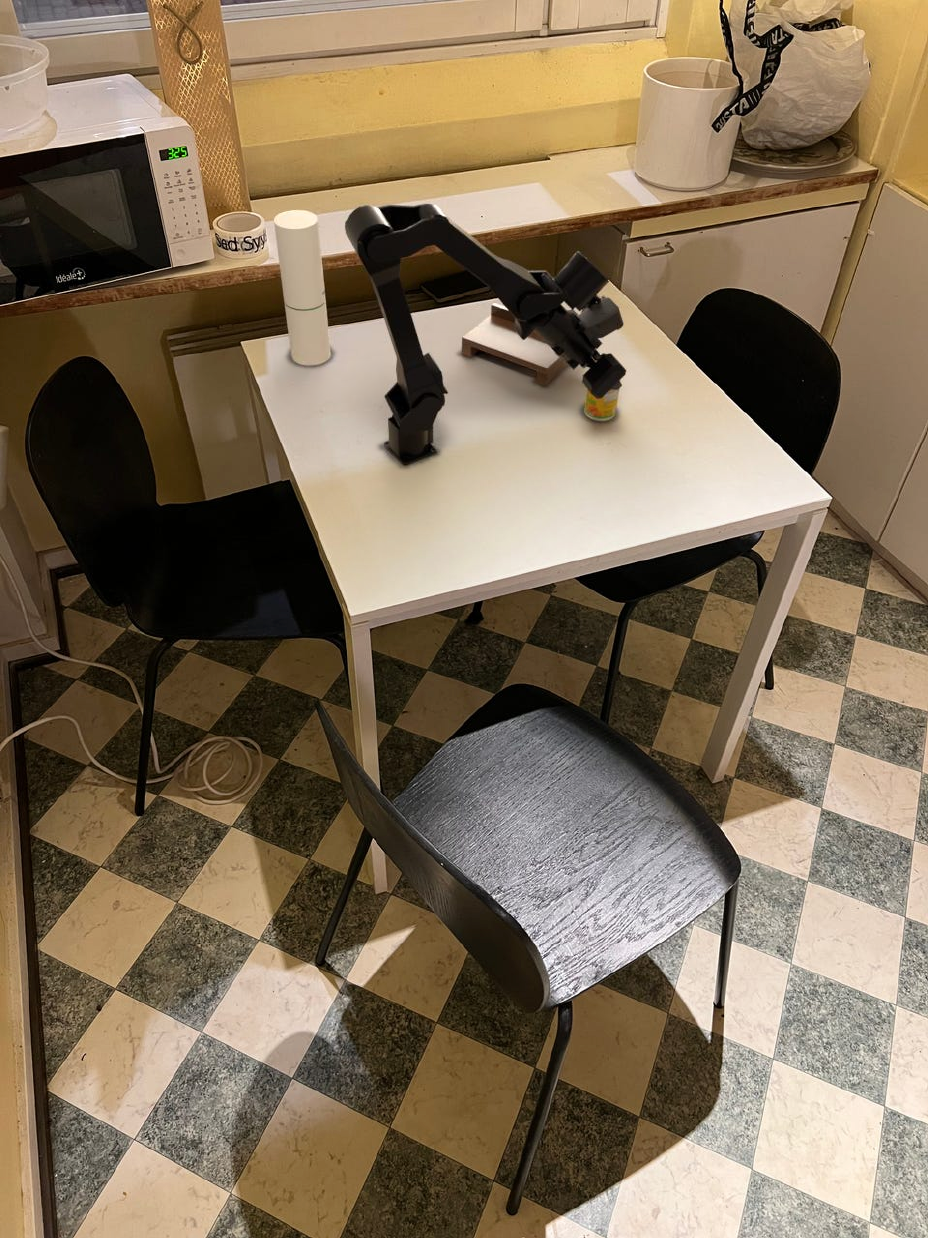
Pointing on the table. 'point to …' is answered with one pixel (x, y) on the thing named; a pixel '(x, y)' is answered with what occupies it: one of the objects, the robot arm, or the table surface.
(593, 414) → the supplement bottle
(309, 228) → the cylindrical container
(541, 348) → the shelf
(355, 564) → the table surface
